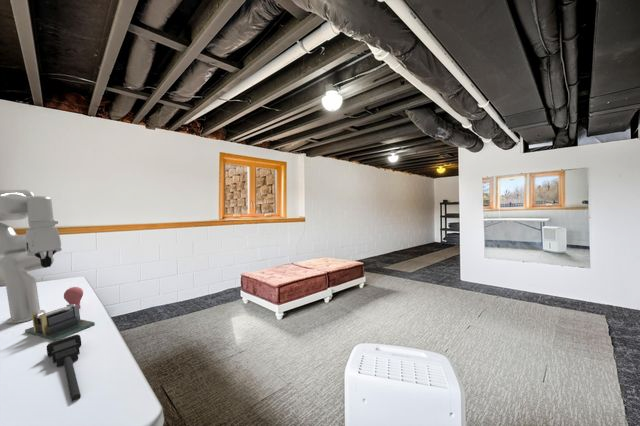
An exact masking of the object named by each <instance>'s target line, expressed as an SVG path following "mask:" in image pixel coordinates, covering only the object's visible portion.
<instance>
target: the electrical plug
mask: <svg viewBox="0 0 640 426" xmlns="http://www.w3.org/2000/svg"><path fill="white" fill-rule="evenodd" d="M80 347H82V338H81V335H80V334H72V335H69V336H66V337H64V338H61V339H59V340H56V341H54V340H53V341H52V342H49V343H48V344H47V345H46V354H47V357H48V358H51V357H52V363H53V364H55V363H56V367H57V368H58V367H59V368H60V367H62V366H64V369H65V374H66V380H67V384H68V385H67V386H68V389H69V390H68V391H69V395H70V399H71V402H75V401H76V400H78V399H81V392H80V387H79V383H78V380H77V376H76V375H77V374H76V371H75V368H74V364H73V362H74V361H78V360H79V355H80Z"/></svg>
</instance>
